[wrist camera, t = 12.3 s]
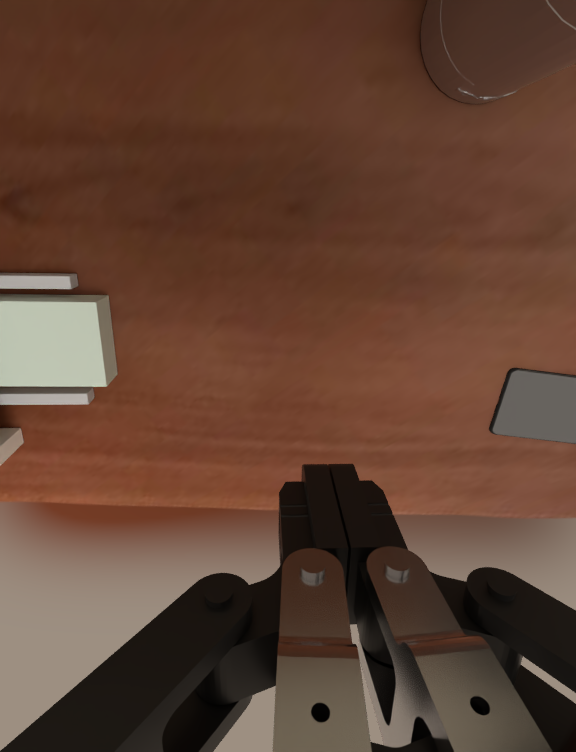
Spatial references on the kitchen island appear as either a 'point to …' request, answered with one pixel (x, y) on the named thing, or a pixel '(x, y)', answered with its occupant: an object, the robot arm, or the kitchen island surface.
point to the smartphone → (537, 406)
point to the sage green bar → (56, 341)
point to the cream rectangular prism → (10, 439)
